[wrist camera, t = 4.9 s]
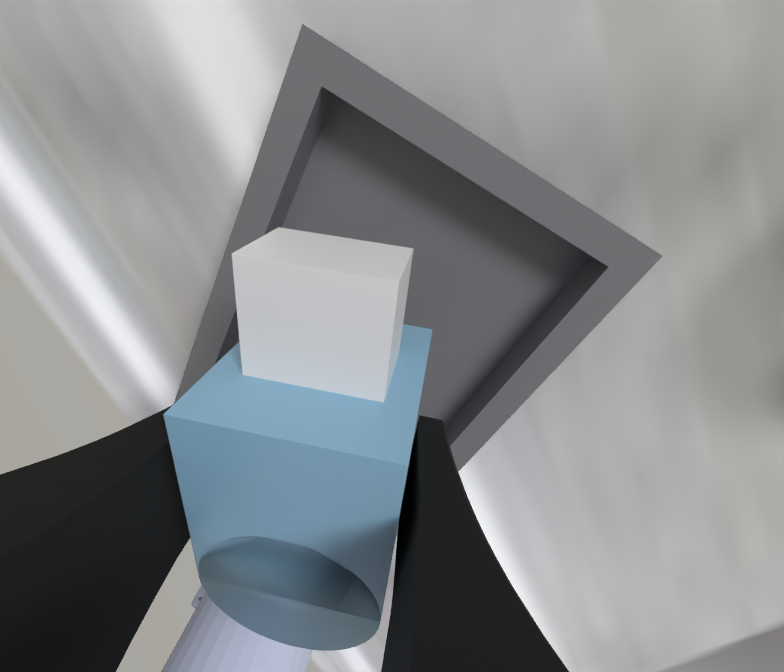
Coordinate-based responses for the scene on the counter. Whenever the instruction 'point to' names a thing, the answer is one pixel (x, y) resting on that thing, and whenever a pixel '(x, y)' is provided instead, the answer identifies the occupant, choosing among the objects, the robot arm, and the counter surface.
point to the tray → (430, 237)
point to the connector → (304, 439)
